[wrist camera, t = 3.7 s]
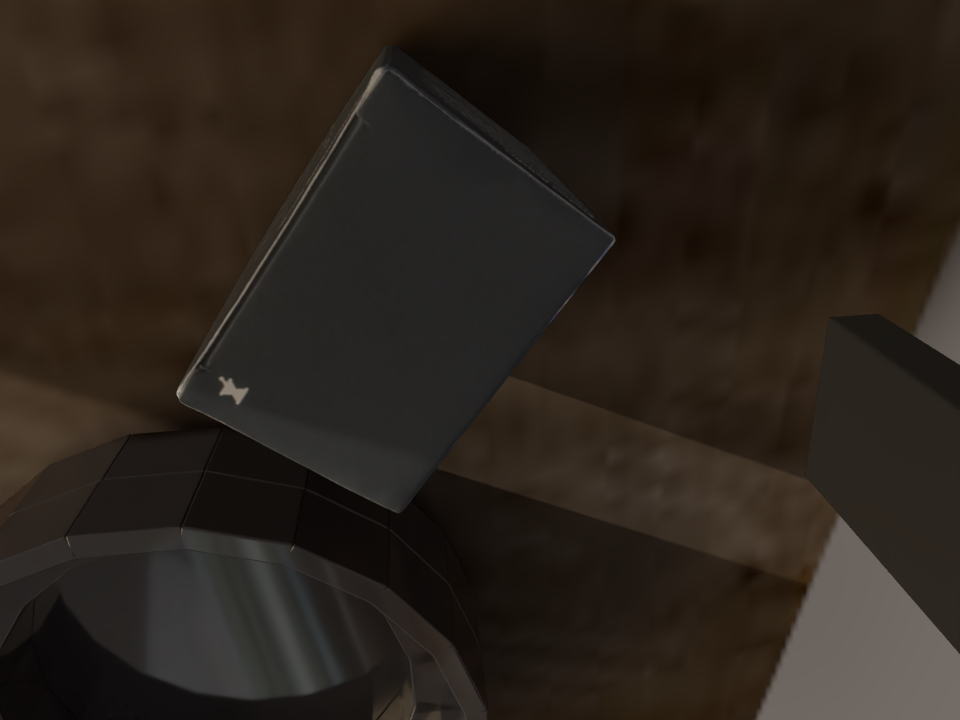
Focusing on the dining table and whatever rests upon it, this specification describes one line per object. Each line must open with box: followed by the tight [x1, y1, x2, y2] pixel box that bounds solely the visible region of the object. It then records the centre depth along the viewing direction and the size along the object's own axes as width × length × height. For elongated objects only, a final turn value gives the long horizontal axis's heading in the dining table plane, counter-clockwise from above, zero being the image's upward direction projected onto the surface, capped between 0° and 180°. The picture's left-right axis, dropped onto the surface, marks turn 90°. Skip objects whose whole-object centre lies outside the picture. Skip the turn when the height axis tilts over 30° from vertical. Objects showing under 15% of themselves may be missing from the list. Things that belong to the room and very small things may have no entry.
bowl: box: [0, 427, 489, 720], centre depth 28 cm, size 20×20×6 cm
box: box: [176, 45, 615, 513], centre depth 20 cm, size 8×6×11 cm
